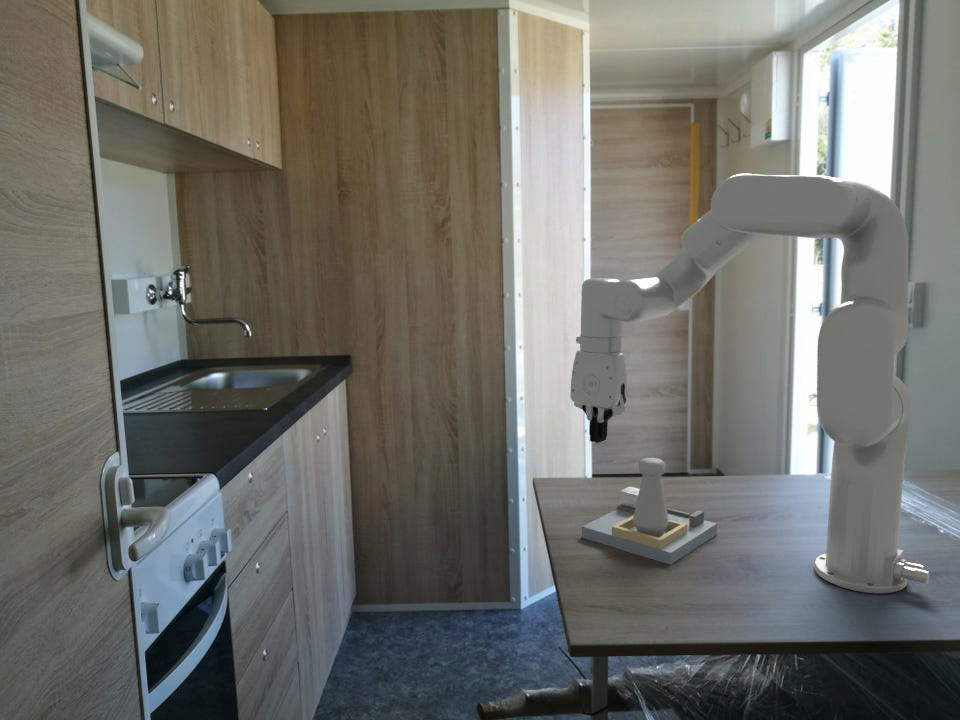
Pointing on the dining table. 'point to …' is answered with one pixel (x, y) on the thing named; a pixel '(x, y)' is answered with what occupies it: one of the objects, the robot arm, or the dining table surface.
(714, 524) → the base
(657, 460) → the salt shaker
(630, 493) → the cover
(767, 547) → the dining table surface
